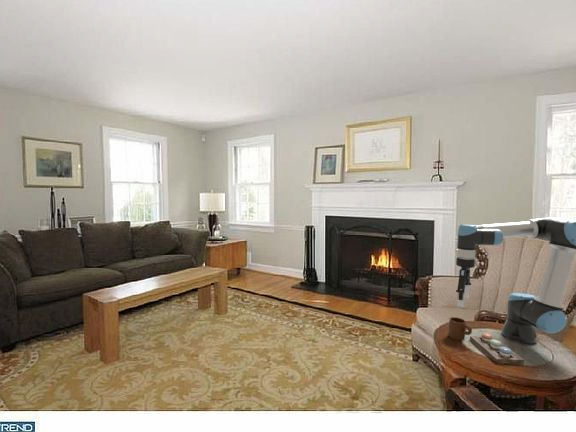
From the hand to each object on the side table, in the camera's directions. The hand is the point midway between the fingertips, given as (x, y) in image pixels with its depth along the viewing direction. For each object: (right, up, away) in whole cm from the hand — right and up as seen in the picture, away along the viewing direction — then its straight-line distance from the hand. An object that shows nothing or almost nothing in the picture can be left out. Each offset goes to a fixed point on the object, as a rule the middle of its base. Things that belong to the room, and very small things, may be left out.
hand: (462, 302), depth 152 cm
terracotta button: (+17, -22, +9) cm, 29 cm away
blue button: (+17, -23, -5) cm, 29 cm away
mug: (+6, -23, +14) cm, 27 cm away
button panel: (+17, -24, +3) cm, 29 cm away
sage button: (+17, -22, +2) cm, 28 cm away
